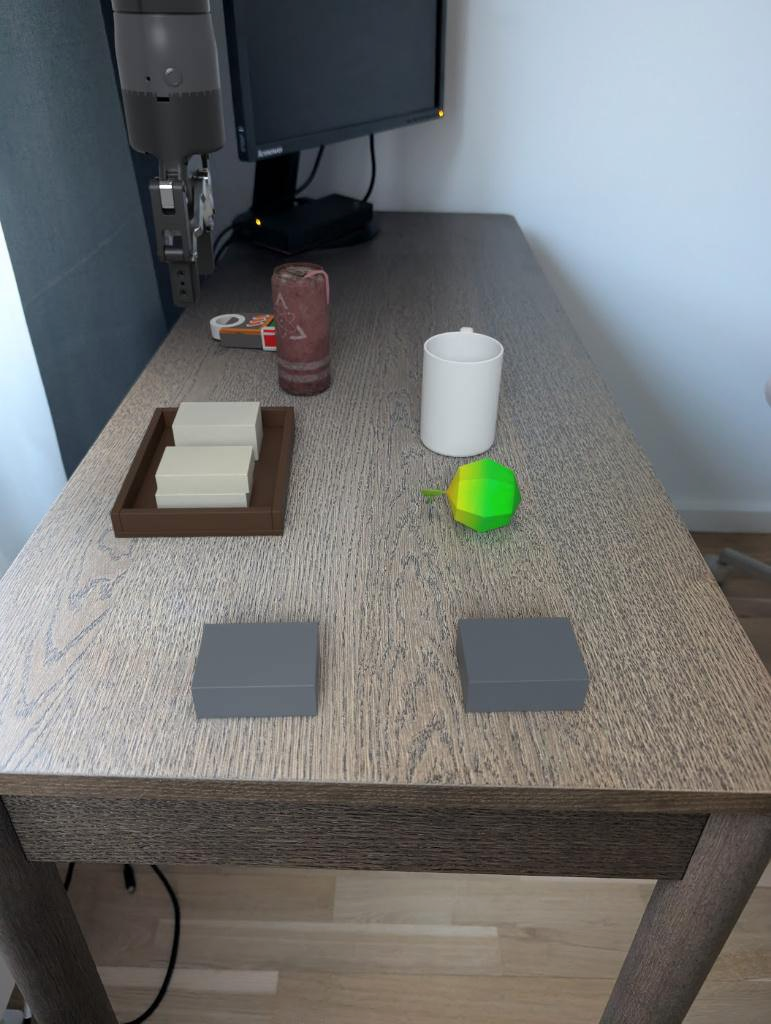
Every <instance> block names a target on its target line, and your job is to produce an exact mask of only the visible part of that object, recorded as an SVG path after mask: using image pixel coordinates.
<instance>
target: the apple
mask: <svg viewBox="0 0 771 1024" xmlns="http://www.w3.org/2000/svg"><path fill="white" fill-rule="evenodd" d="M420 491H421V493H422V495H423V497H425V498H426V497H428V499H427V500H426V501H425V504H427V505H429V503H430V502H431V499H433V498H435V497H437V496H439V495H444V494H446V497H447V499H448V502H449V503H448V504H449V506H450V509H451V512H452V516H453V518H454V521H457V522H459V524H462V525H464V526H466V527H468V528H470V529H472V530H474V531H476V532H478V533H480V534H481V533H485V532H488V531H492V530H496V529H499V528H502V527H504V526H508V525H509V524H510V522H511V520H512V518H513V517H514V515H515V513H516V511H517V509H518V507H519V506H520V503H521V502H522V500H523V498H522V495H521V491H520V487H519V484H518V481H517V478H516V474H515V471H514V470H513V469H510V468H509V467H506V466H505V465H502V464H501V463H499V462H497V461H496V460H493V459H491V458H489V457H486V458H482V459H479V460H477V461H473V462H470V463H467V464H464V465H463V464H462V465H459V467H458V469H457V471H456V473H455V474H454V476H453V478H452V480H451V482H450V484H449V486H448V487H447V490H446V491H445V490H441V488H439V487H437V488H436V489H426V488H420Z"/></svg>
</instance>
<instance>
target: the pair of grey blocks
mask: <svg viewBox="0 0 771 1024" xmlns="http://www.w3.org/2000/svg"><path fill="white" fill-rule="evenodd" d="M457 621H458V622H457V628H456V629H457V631H456V642H455V652H456V660H457V666H458V672H459V678H460V684H461V692H462V698H463V705H464V710H465V713H466V714H467V713H468V714H469V713H505V712H511V713H512V712H548V711H549V712H551V711H556V712H557V711H583V710H584V706H585V702H586V697H587V693H588V689H589V685H590V680H591V679H590V676H589V673H588V670H587V667H586V663H585V661H584V658H583V655H582V652H581V649H580V647H579V643H578V639H577V638H576V635H575V631H574V629H573V626H572V622H571V620H570V617H569V616H565V617H564V616H559V617H558V616H557V617H556V616H553V617H552V616H549V617H503V618H500V617H499V618H498V617H497V618H460V619H459V618H458V619H457ZM319 630H320V629H319V621H287V622H285V621H284V622H279V621H278V622H233V623H231V622H230V623H229V622H227V623H225V622H224V623H205V624H204V625H203V631H202V635H201V640H200V645H199V650H198V653H197V660H196V663H195V667H194V671H193V677H192V681H191V685H190V691H191V696H192V702H193V706H194V711H195V716H196V719H233V718H234V719H236V718H237V719H239V718H278V717H279V718H285V717H316V716H317V715H318V703H319V701H318V699H319V679H320V677H319V676H320V655H321V649H320V632H319Z"/></svg>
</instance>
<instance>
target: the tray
mask: <svg viewBox="0 0 771 1024" xmlns="http://www.w3.org/2000/svg"><path fill="white" fill-rule="evenodd" d="M179 407H180V406H173V407H171V406H169V407H168V406H167V407H166V406H165V407H155V410H154V412H153V414H152V416H151V419H150V421H149V423H148V426H147V428H146V430H145V432H144V434H143V437H142V440H141V441H140V444H139V446H138V449H137V451H136V453H135V455H134V457H133V459H132V462H131V465H130V467H129V469H128V471H127V473H126V475H125V477H124V481H123V483H122V485H121V487H120V489H119V492H118V494H117V497H116V498H115V501H114V503H113V505H112V508H111V510H110V512H109V516H110V517H109V518H110V521H111V525H112V529H113V530H112V531H113V535H114V538H115V539H117V538H118V539H124V538H126V539H127V538H129V539H132V538H134V539H135V538H187V537H188V538H195V537H196V538H198V537H201V538H202V537H203V538H205V537H207V538H208V537H269V536H271V537H272V536H273V537H275V536H276V537H278V536H283V534H284V528H285V527H284V526H285V520H286V519H285V518H286V510H287V501H288V494H289V486H290V485H289V484H290V477H291V469H292V459H293V450H294V443H295V433H296V417H295V416H296V415H295V406H285V405H284V406H260V408H261V419H262V430H263V438H262V444H261V449H260V455H259V460H255V465H254V471H253V487H252V492H251V498H250V503H249V507H223V508H158V507H157V502H156V496H155V495H156V492H157V489H158V487H157V482H156V477H155V475H156V472H157V470H158V467H159V465H160V462H161V459H162V457H163V454H164V451H165V449H166V447H175V441H174V435H173V429H172V425H173V422H174V420H175V417H176V415H177V412H178V409H179Z"/></svg>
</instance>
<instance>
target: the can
mask: <svg viewBox="0 0 771 1024" xmlns="http://www.w3.org/2000/svg"><path fill="white" fill-rule="evenodd" d="M270 279H271V280H270V281H271V294H272V309H273V314H274V324H275V337H276V351H275V352H276V364H277V375H278V384H279V386H280V387H281V389H282V390H283V391H284V392H285V393H287V394H289V395H292V396H297V397H311V396H316V395H319V394H322V393H323V392H325V391H326V390H327V389H328V387H329V386H330V384H331V362H330V360H331V358H330V329H329V328H330V327H329V304H330V293H331V292H330V290H331V289H330V281H329V275H328V274H327V272H326V271H325V269H324V268H323V266H321V265H319V264H316V263H311V262H288V263H284V264H281V265H278V266H276V267H275V268H274V269H273V274H272V276H271V278H270Z"/></svg>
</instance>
